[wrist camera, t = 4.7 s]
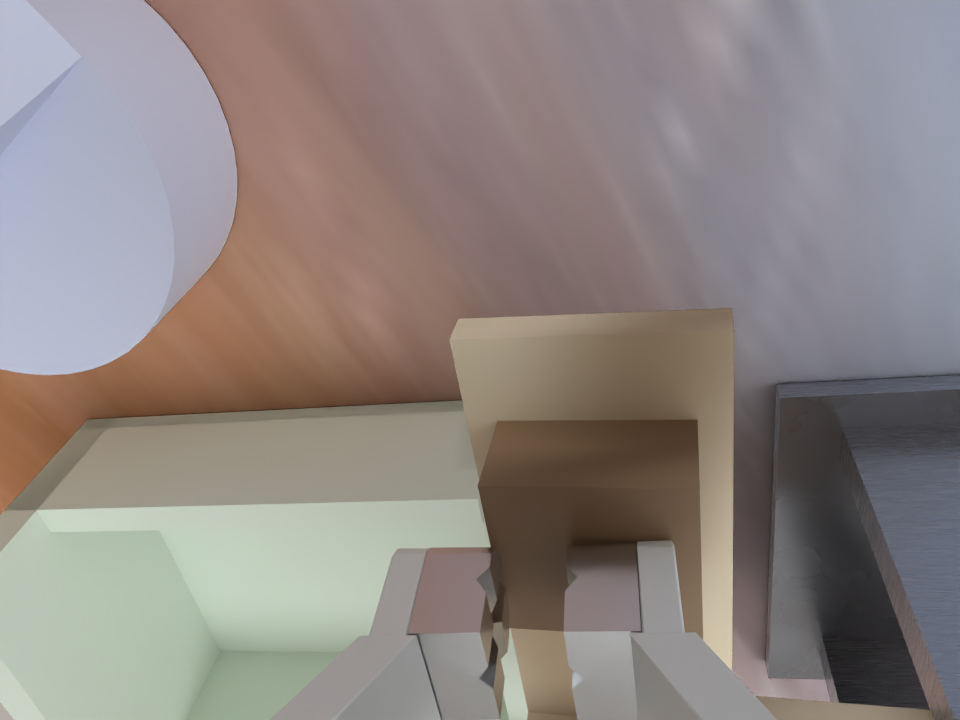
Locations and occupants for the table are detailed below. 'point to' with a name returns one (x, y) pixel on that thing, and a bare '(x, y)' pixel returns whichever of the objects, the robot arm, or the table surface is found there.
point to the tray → (222, 556)
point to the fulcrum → (868, 541)
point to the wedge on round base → (102, 180)
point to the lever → (609, 471)
